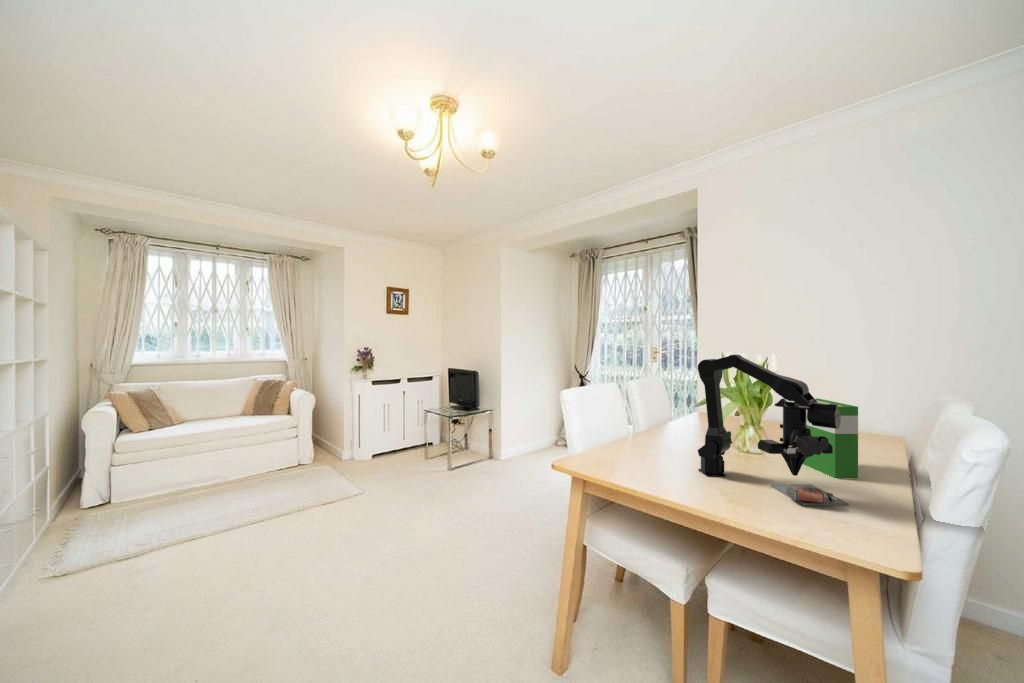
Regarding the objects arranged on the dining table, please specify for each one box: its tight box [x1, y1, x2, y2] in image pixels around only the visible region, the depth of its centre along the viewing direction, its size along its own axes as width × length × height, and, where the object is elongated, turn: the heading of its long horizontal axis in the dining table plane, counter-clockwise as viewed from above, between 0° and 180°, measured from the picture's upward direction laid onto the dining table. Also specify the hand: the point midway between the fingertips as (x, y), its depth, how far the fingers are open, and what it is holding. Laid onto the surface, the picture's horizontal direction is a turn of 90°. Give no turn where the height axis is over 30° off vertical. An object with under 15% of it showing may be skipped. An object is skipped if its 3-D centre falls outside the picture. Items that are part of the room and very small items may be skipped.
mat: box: [770, 483, 850, 506], centre depth 116 cm, size 12×14×1 cm
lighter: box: [787, 485, 838, 504], centre depth 111 cm, size 8×3×10 cm
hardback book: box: [802, 397, 859, 479], centre depth 138 cm, size 18×7×24 cm, turn 178°
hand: (794, 475), depth 116 cm, fingers closed
